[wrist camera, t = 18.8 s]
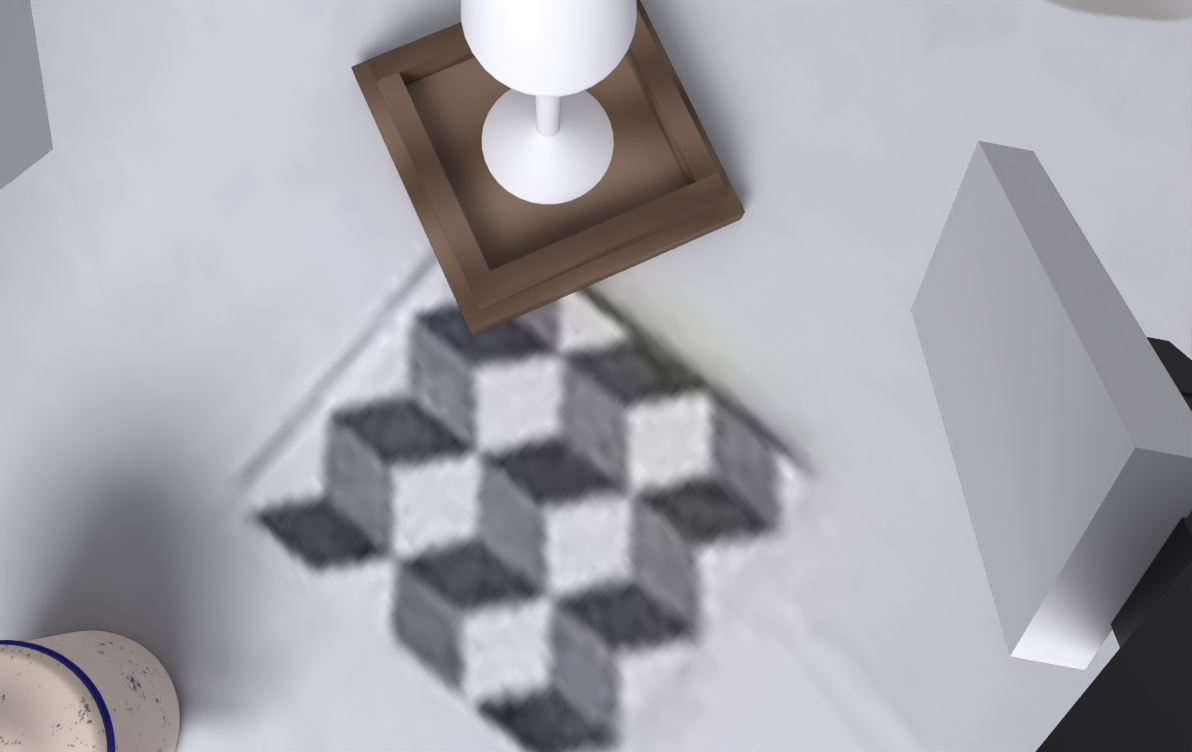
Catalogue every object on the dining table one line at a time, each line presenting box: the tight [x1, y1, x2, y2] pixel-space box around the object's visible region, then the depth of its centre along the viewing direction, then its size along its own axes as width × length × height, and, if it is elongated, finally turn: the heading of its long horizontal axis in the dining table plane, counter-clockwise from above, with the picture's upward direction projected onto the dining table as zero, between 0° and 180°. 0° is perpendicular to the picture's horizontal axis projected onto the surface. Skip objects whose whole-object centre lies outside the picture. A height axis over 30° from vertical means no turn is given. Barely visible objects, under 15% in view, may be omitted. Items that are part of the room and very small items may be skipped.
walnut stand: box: [351, 0, 745, 337], centre depth 53 cm, size 15×15×3 cm
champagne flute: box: [461, 0, 637, 204], centre depth 41 cm, size 7×7×24 cm
